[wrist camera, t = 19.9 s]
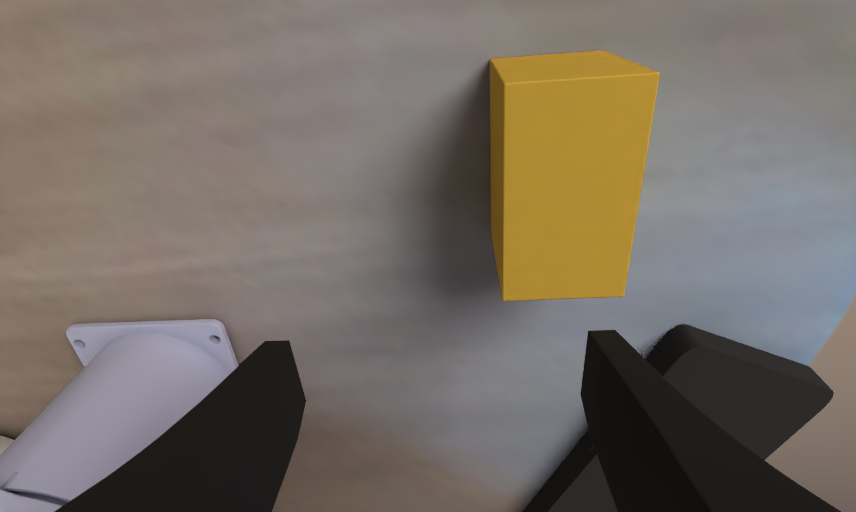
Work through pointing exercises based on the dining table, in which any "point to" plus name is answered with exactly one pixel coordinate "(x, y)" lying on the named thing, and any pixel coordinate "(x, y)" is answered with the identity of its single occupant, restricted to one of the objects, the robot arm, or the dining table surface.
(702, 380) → the smart home device
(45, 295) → the dining table surface
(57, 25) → the dining table surface
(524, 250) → the yellow block
